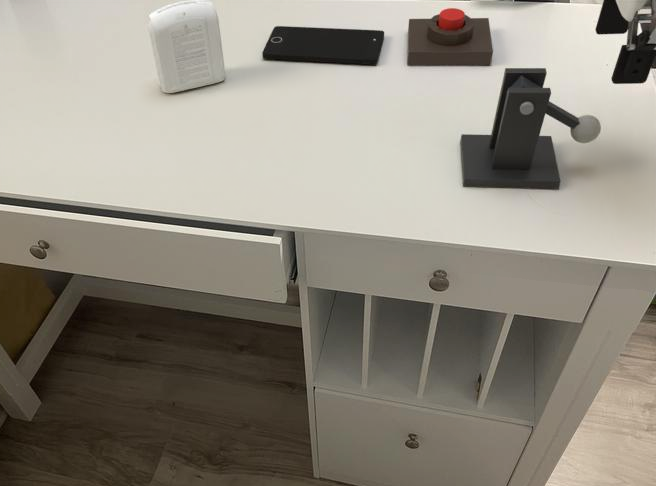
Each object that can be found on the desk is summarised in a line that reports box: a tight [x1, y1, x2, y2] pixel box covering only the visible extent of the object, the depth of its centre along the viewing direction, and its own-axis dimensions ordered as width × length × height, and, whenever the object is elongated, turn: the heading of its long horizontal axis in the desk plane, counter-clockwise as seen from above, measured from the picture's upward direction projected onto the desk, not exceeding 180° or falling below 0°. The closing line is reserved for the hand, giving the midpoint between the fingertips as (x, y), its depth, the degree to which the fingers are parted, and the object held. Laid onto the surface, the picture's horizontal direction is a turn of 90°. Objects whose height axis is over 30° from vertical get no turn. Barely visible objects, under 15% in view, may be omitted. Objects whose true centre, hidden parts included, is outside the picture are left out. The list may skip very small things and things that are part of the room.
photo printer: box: [147, 0, 226, 94], centre depth 97 cm, size 10×4×12 cm, turn 106°
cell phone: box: [261, 25, 385, 66], centre depth 105 cm, size 9×18×1 cm, turn 75°
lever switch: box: [507, 76, 602, 144], centre depth 77 cm, size 12×3×3 cm
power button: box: [438, 7, 466, 30], centre depth 98 cm, size 4×4×2 cm
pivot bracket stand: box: [459, 67, 562, 190], centre depth 79 cm, size 11×9×12 cm
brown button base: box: [406, 13, 494, 66], centre depth 100 cm, size 12×10×4 cm
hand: (618, 56), depth 71 cm, fingers open, 9 cm apart
